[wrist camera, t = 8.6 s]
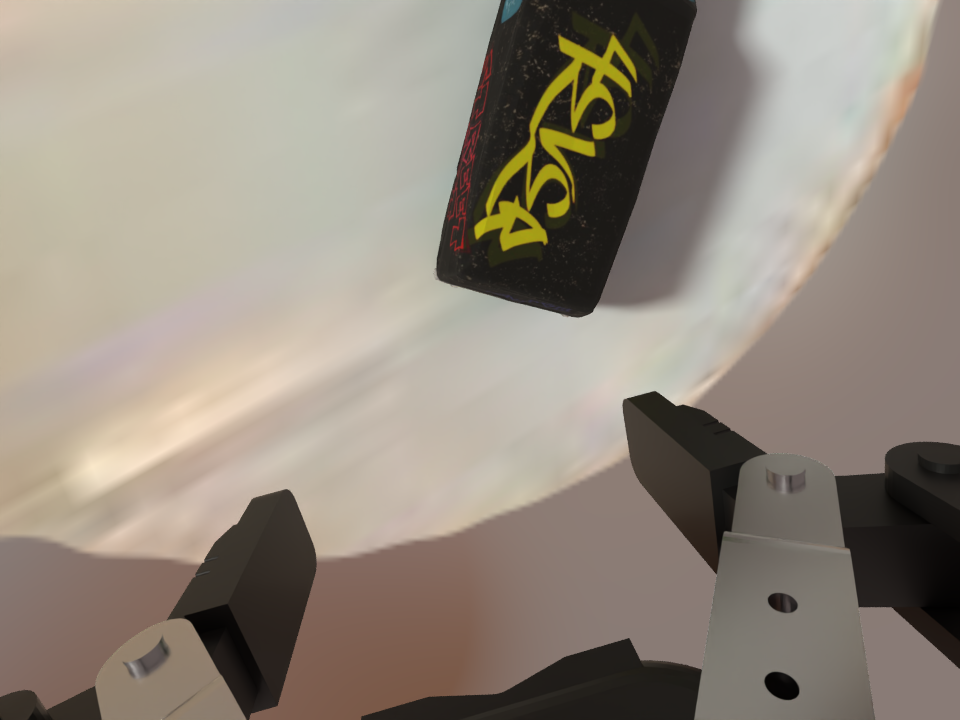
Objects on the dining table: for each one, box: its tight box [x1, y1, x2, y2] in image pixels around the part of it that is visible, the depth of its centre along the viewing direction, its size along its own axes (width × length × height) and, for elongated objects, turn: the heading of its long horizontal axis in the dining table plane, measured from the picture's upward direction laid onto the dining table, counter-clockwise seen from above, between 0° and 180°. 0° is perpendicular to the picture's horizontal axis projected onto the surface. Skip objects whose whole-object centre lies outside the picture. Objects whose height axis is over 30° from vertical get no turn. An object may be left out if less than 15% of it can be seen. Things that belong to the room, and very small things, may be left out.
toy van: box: [433, 0, 697, 317], centre depth 30 cm, size 11×25×10 cm, turn 164°
